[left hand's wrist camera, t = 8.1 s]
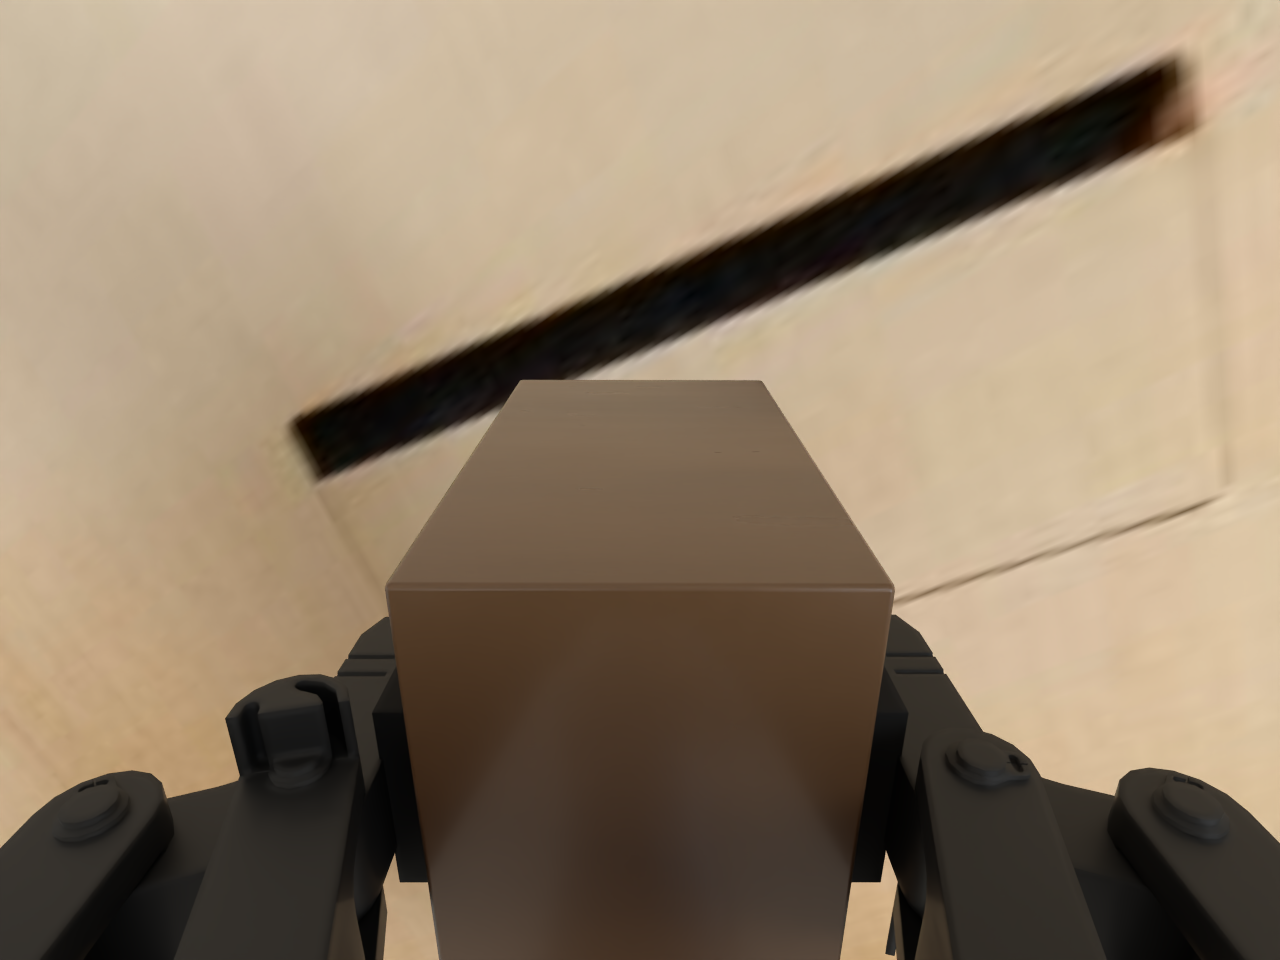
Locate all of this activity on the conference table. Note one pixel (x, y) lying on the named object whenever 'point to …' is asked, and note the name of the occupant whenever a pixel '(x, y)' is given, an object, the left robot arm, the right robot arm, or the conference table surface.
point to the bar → (639, 681)
